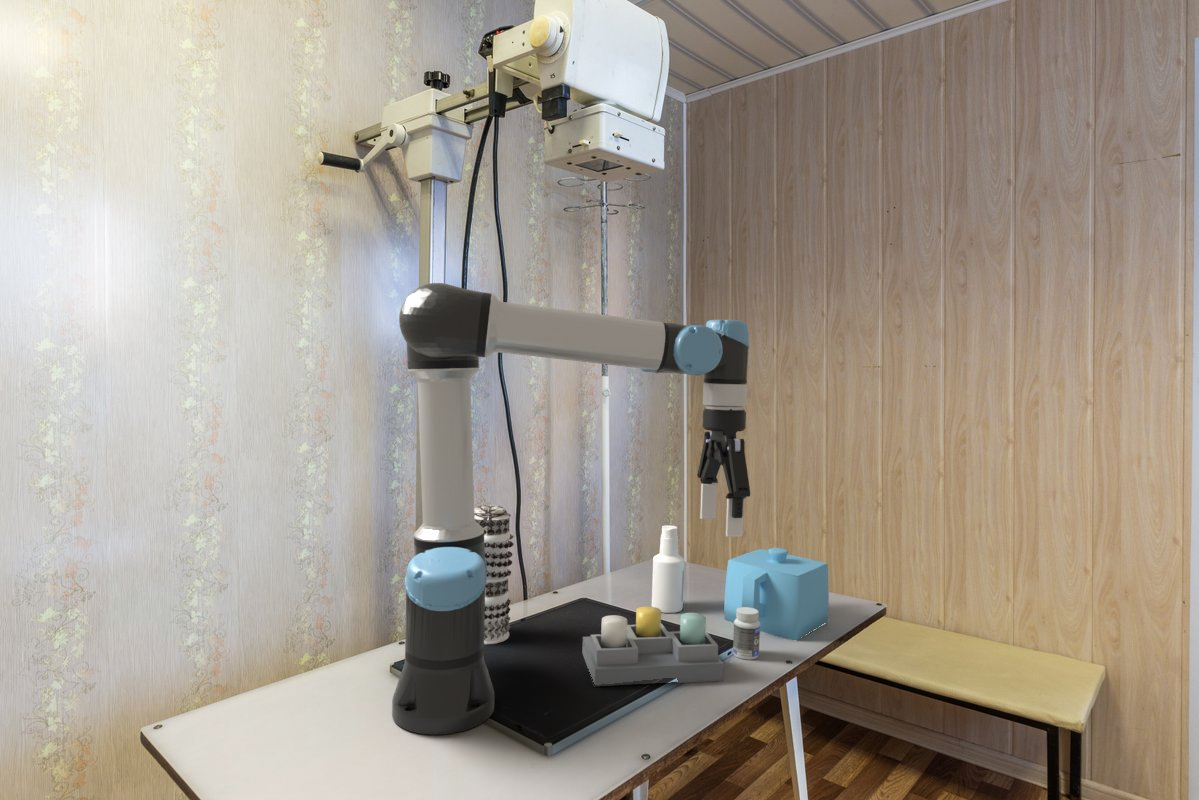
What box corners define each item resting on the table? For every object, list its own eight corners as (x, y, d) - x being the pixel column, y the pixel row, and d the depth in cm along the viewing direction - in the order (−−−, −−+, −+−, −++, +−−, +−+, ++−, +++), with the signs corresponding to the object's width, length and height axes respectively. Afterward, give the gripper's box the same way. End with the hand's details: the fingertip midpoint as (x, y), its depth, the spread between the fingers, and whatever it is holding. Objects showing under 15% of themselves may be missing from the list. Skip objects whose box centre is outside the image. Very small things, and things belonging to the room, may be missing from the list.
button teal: (683, 645, 123) (684, 622, 122) (676, 635, 127) (677, 613, 127) (708, 644, 123) (709, 621, 123) (700, 634, 128) (701, 612, 128)
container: (710, 625, 148) (712, 551, 147) (770, 598, 166) (772, 532, 165) (785, 649, 136) (789, 569, 135) (841, 616, 155) (844, 546, 154)
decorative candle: (521, 634, 139) (524, 507, 138) (487, 649, 132) (490, 514, 130) (487, 623, 145) (490, 500, 143) (453, 636, 137) (455, 507, 136)
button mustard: (638, 637, 125) (639, 615, 125) (633, 628, 130) (634, 606, 130) (663, 636, 126) (663, 614, 126) (656, 627, 130) (657, 606, 130)
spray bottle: (687, 607, 158) (690, 526, 157) (674, 616, 152) (676, 532, 151) (660, 601, 161) (663, 522, 160) (645, 609, 156) (648, 527, 155)
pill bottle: (759, 661, 130) (760, 615, 129) (732, 658, 131) (734, 613, 130) (758, 651, 134) (760, 607, 134) (733, 648, 135) (734, 605, 135)
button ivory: (603, 648, 120) (604, 624, 120) (599, 638, 125) (599, 615, 124) (629, 647, 121) (629, 624, 121) (623, 637, 125) (624, 614, 125)
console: (594, 687, 117) (595, 654, 117) (582, 652, 131) (583, 623, 131) (722, 680, 121) (724, 648, 121) (697, 648, 135) (698, 619, 135)
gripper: (774, 413, 115) (768, 544, 116) (720, 404, 139) (716, 512, 140) (729, 412, 113) (724, 545, 115) (683, 403, 138) (679, 512, 139)
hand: (720, 527), depth 128 cm, fingers open, 13 cm apart
